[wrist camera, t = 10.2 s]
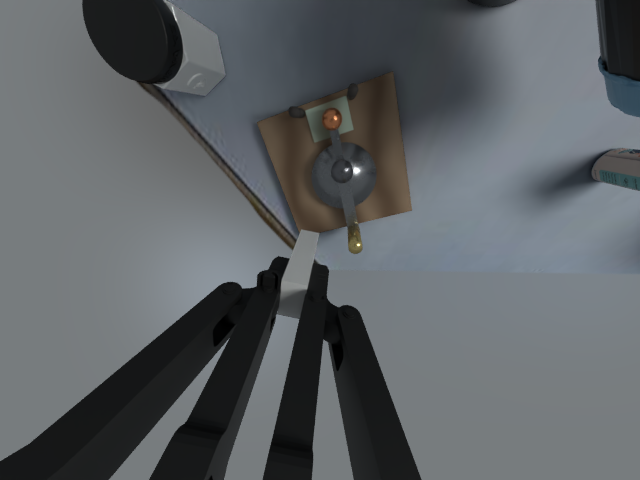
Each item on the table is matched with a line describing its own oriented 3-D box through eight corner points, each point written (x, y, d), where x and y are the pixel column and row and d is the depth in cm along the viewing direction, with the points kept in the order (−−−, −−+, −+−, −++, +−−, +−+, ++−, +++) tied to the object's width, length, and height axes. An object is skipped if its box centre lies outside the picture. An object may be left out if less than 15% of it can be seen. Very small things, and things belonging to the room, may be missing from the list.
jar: (197, 107, 35) (135, 102, 24) (154, 52, 32) (63, 20, 22) (238, 65, 32) (187, 39, 22) (195, 1, 29) (112, -65, 19)
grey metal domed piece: (296, 118, 33) (284, 117, 26) (366, 98, 31) (372, 92, 24) (326, 235, 41) (323, 258, 34) (382, 225, 39) (391, 248, 32)
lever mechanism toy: (390, 73, 31) (404, 60, 24) (409, 207, 39) (423, 225, 33) (259, 122, 35) (240, 122, 29) (302, 233, 44) (295, 254, 37)
